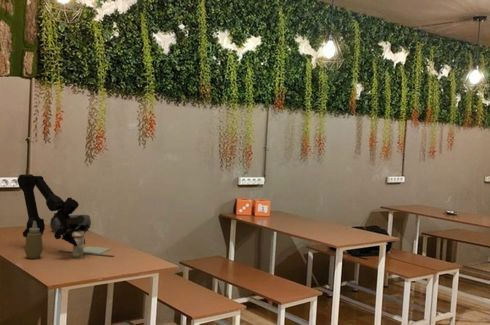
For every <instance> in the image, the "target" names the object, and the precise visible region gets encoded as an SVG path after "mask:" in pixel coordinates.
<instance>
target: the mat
mask: <svg viewBox="0 0 490 325" xmlns="http://www.w3.org/2000/svg"><path fill="white" fill-rule="evenodd" d="M109 250H111V248H109V247H100V246H91V245H90V246H86V247H85V246H84V251H83V253H93V254H103V253H106V252H107V251H109Z"/></svg>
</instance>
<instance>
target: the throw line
mask: <svg viewBox="0 0 490 325" xmlns="http://www.w3.org/2000/svg"><path fill="white" fill-rule="evenodd" d="M58 253H68V254H73V250H72V251H71V250H58ZM83 255H86V256H87V255H89V256H96V257H98V256H100V257H109V258H113V257H115V255H113V254H111V255H109V254H103V253H101V254H93V253H83Z"/></svg>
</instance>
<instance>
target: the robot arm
mask: <svg viewBox="0 0 490 325" xmlns="http://www.w3.org/2000/svg"><path fill="white" fill-rule="evenodd" d="M16 179H17V184H18V187H19V189H20V190H21V191H22V192H23V197H24V201H25V206H26V212H27V217H28V219H27V222H26V228H25V230H24V231H23V232H22V237H23V238H25V240H26V239H27V234H28V233H30V232H29V229H30V228H32V225H33V221H36V223H37V228H39V229H40V233H41V235H42V236H43V235H44V232H45V229H46V224H45V219H44V218H41V217H40V215H39V212H38V206H37V201H36V200H37V199H36V196H35V195H36V194H35V187H36V188H37V189H38V191H39V193H40V194H41V195H42V196H43V198H44V199H45V205H46V207H47V209H48V210H49V211H50V212H54V213H53V216H52V217H53V219H55V218H57V219H58V220H59V222H60V224H61V225H60V227H63V228H59V229H58V230H57V231H55V233H54V238H55V240H60V239H61V240H63V241H65V242H67V243H69V244H71V245H72V246H73V245H74V246H77V243H76V241H75V239H74V238H73V234H74V231H84V235H85V234H86V233H87V231H88V230H90V227H91V226H90V227H89V225H88V224H83V225H81V226H80V227H79V228H77V227H78V226H79V224H80V223H83V221H84V220H85V219H84V217H83V215H84V214H79V215H80V216H78V217H75V218H71V217H70V215H73V214H74V212H75V211H76V210H77V209H78V207H79V202H78V201H77V200H76V199H73V198H72V197H67V199H65V201H64V200H63V199H62V198H61V197H60V196H58V195H56V193H54V191H53V190H52V189H51V188H50V186H49V185H48V184H47V182H46V181H45V179H44V177H43V176H42V175H33V174H31V173H28V174H27V173H25V174H19V175H18V177H17V178H16ZM84 245H86V239H85V238H84Z"/></svg>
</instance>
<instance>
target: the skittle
mask: <svg viewBox="0 0 490 325" xmlns="http://www.w3.org/2000/svg"><path fill="white" fill-rule="evenodd" d="M72 236H73V238H74V239H75V241H76V243H77V246H74V245H72V252H73V253H72V259H75V260H77V259H78V260H80V259H83V258H84V254H83V251H84V248H85V244H84V239H85V234H84V231H74V233H73V234H72Z"/></svg>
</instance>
